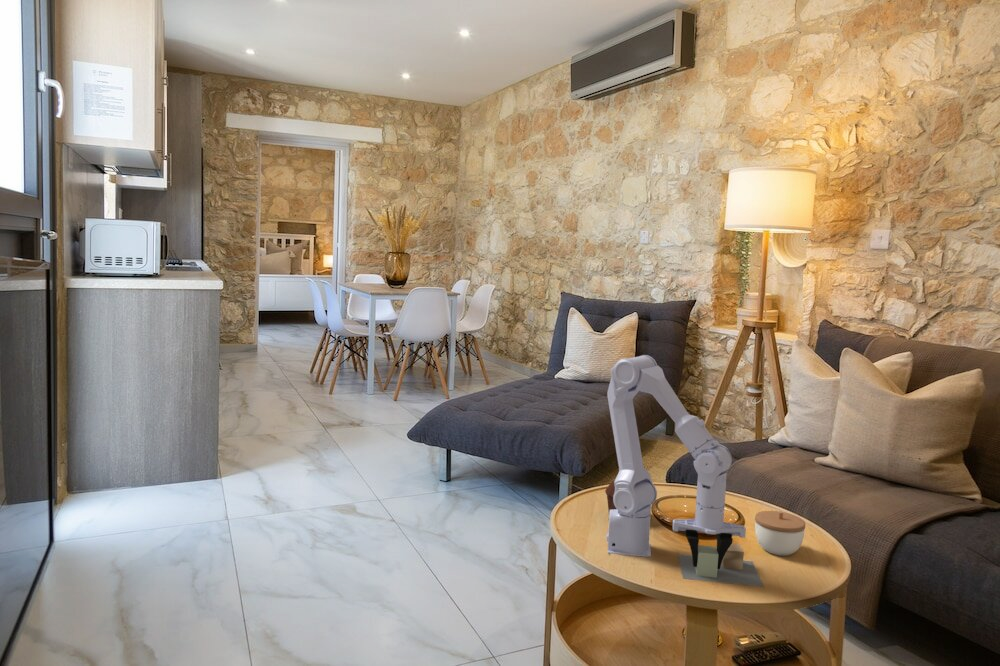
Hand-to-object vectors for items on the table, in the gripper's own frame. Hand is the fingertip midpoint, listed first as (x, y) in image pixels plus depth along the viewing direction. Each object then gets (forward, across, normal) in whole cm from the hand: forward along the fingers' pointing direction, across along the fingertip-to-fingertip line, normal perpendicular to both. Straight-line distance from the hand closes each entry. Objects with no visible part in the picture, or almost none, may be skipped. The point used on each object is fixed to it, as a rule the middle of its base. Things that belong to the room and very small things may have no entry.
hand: (706, 565), depth 146 cm
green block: (+1, 0, 0) cm, 1 cm away
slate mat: (+2, +3, +2) cm, 4 cm away
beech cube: (+1, +6, +5) cm, 8 cm away
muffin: (+2, -16, +29) cm, 33 cm away
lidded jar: (+2, +18, +16) cm, 24 cm away
